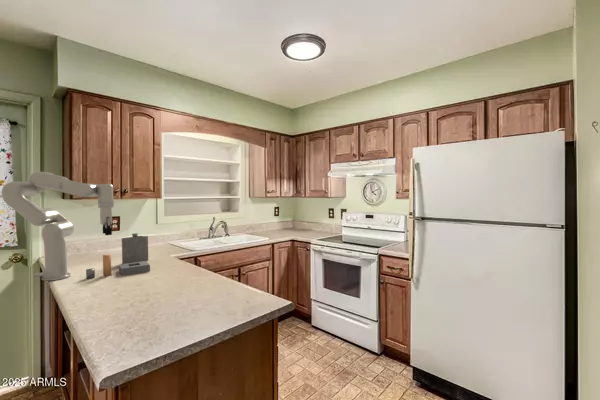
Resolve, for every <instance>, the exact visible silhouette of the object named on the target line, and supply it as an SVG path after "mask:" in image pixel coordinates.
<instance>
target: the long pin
mask: <svg viewBox="0 0 600 400" xmlns="http://www.w3.org/2000/svg"><path fill="white" fill-rule="evenodd" d="M102 275H103V277H110V276H112V254H111V253H110V254H109V253H107V254H103V255H102Z"/></svg>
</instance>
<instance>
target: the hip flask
mask: <svg viewBox="0 0 600 400" xmlns="http://www.w3.org/2000/svg"><path fill="white" fill-rule="evenodd" d="M141 261H146V262H149V236H148V235H139V233H138V232H136V233H131V236H130V237H129V236H128V237H127V236H126V237H121V263H122V264H127V263H134V262H141Z"/></svg>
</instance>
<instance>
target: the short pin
mask: <svg viewBox="0 0 600 400" xmlns="http://www.w3.org/2000/svg"><path fill="white" fill-rule="evenodd" d="M95 270H96V269H95V268H94V267H92V268H87V269H85V278H86V280H92V279H95V278H96V273H95V272H96V271H95Z"/></svg>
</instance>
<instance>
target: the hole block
mask: <svg viewBox="0 0 600 400" xmlns="http://www.w3.org/2000/svg"><path fill="white" fill-rule="evenodd" d="M150 271H151V263H149V262H148V261H141V262H134V263H127V264H118V272H119V274H120V275H121V276H127V275H134V274H139V273H145V272H146V273H147V272H150Z"/></svg>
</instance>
